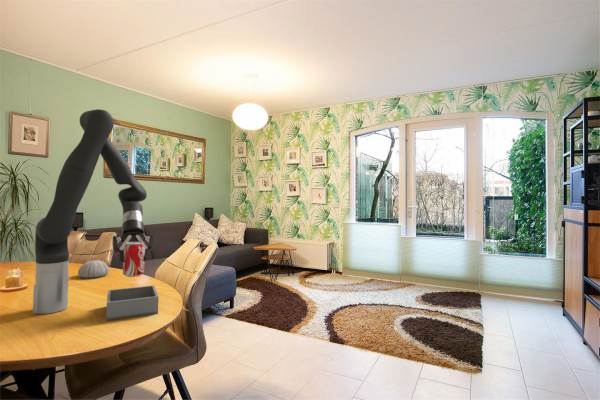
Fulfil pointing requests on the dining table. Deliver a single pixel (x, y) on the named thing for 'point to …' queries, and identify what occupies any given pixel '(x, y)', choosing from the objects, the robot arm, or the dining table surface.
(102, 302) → the dining table surface
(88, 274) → the sea urchin shell
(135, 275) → the soda can
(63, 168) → the robot arm
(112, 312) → the bin
